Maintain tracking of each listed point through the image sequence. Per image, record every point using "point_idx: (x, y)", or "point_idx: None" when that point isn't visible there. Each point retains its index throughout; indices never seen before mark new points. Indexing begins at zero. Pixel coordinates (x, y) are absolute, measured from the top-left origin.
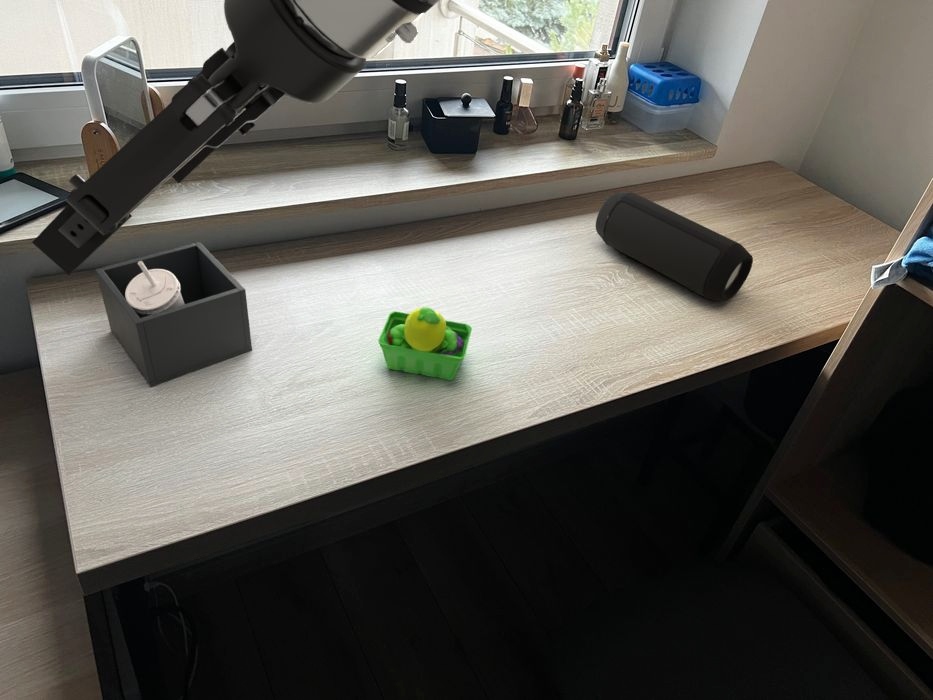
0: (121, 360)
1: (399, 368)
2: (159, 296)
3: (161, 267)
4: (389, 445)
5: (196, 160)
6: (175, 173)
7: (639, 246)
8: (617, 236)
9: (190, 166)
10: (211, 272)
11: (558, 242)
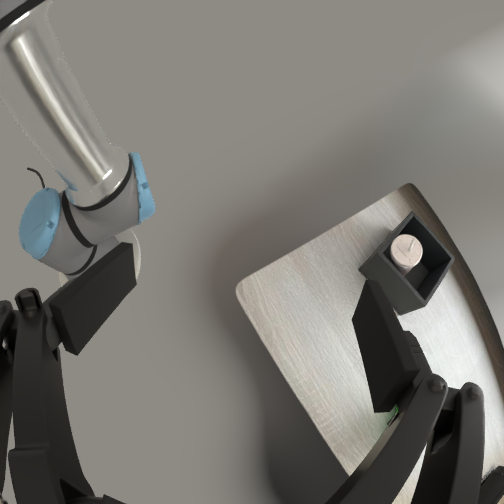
0: (373, 245)
1: (396, 409)
2: (402, 256)
3: (431, 243)
4: (333, 420)
5: (362, 348)
6: (356, 315)
7: (481, 495)
8: (490, 481)
9: (359, 338)
10: (437, 274)
11: (496, 447)
